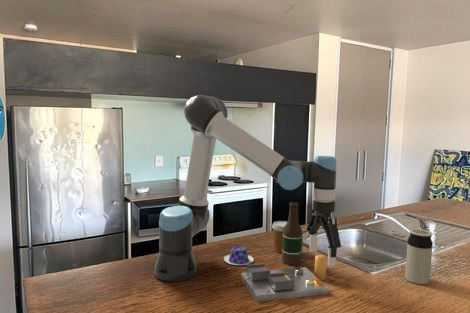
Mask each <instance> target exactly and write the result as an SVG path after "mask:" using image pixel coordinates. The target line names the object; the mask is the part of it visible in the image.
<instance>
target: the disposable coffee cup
mask: <svg viewBox="0 0 470 313" xmlns="http://www.w3.org/2000/svg"><path fill="white" fill-rule="evenodd" d="M287 223H288V220H287V221H286V220H278V221H274V222H273V223H272V225H271V228H272V231H273V232H272V233H273V245H274V252H276V253H278V254H282V242H283V229H284V227H285V225H286V224H287Z"/></svg>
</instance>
